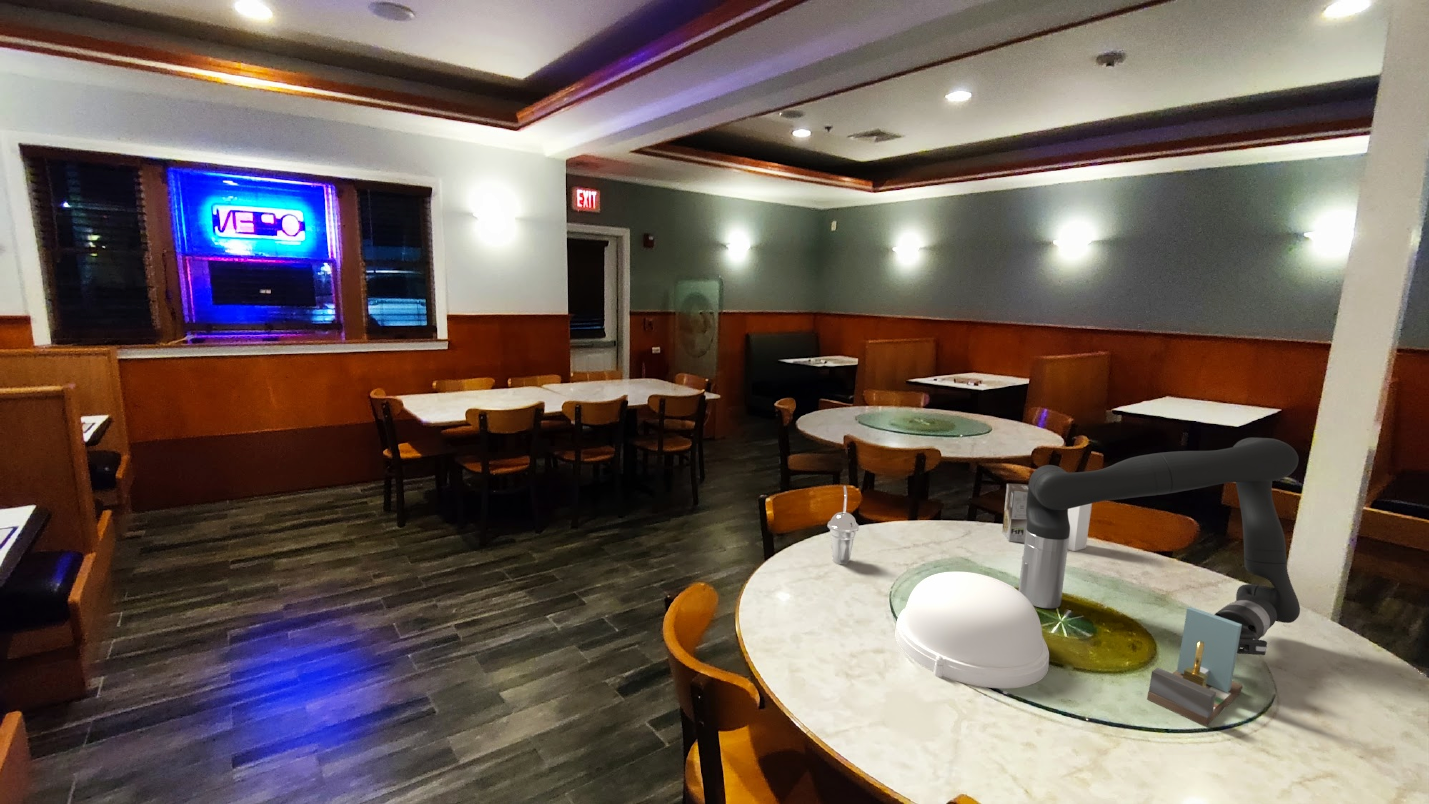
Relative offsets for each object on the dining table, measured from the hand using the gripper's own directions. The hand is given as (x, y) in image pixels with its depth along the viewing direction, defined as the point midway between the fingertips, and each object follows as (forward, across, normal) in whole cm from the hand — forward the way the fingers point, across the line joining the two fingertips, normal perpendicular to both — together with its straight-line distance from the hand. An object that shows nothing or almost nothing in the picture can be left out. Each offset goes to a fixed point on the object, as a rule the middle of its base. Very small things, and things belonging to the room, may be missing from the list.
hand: (1209, 647), depth 121 cm
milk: (-54, -50, +9) cm, 74 cm away
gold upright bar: (+6, 0, +6) cm, 8 cm away
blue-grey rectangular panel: (+2, 0, +7) cm, 7 cm away
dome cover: (+25, -34, +9) cm, 43 cm away
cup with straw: (+15, -79, +9) cm, 81 cm away
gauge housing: (+4, 0, +8) cm, 9 cm away
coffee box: (-46, -63, +9) cm, 79 cm away
